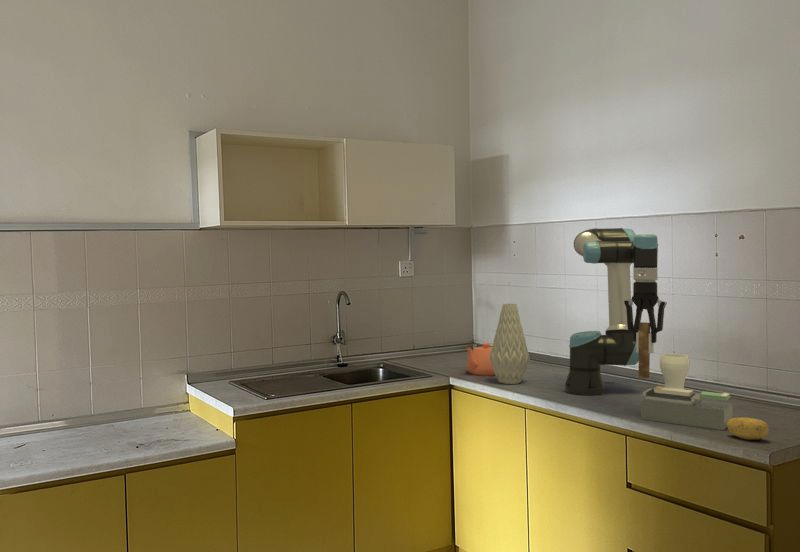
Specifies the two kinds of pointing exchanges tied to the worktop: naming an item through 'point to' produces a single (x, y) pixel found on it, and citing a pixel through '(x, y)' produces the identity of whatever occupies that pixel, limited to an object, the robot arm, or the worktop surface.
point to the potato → (748, 428)
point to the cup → (674, 369)
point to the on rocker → (714, 395)
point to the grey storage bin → (685, 410)
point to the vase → (509, 347)
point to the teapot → (480, 360)
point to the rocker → (673, 391)
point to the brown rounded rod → (644, 350)
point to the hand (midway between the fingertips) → (644, 352)
